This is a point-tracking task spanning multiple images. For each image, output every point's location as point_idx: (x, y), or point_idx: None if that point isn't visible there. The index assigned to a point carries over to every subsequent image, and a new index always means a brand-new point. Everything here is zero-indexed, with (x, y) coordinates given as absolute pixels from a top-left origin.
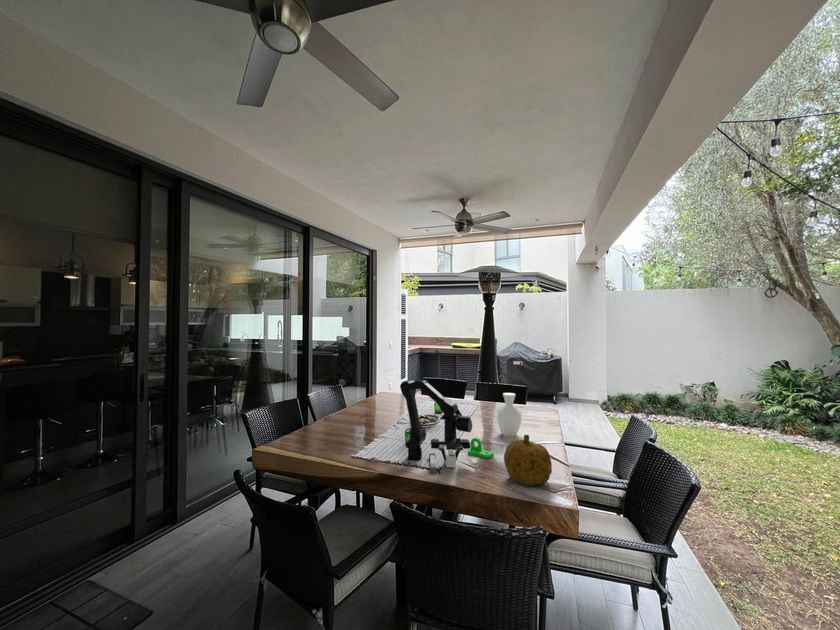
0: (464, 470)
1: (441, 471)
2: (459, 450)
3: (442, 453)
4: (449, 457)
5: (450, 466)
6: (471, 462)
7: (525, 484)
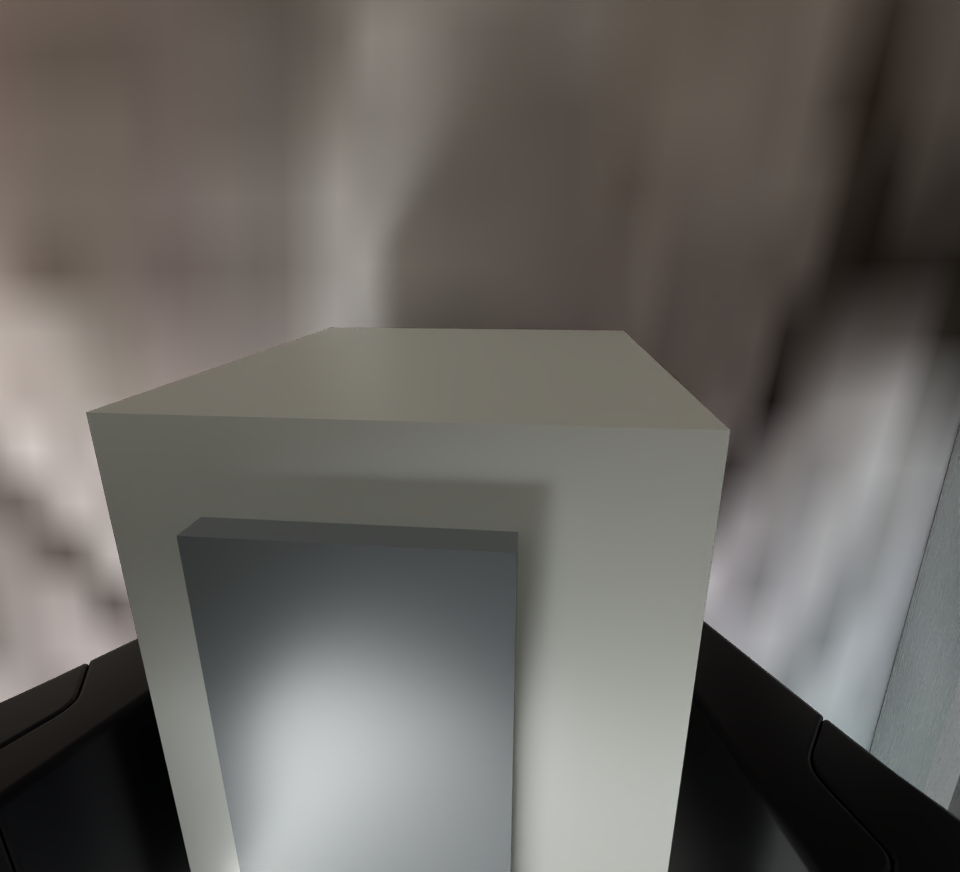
0: (128, 252)
1: (791, 164)
2: None
3: (951, 823)
4: (507, 402)
5: (489, 335)
6: (23, 676)
7: None
